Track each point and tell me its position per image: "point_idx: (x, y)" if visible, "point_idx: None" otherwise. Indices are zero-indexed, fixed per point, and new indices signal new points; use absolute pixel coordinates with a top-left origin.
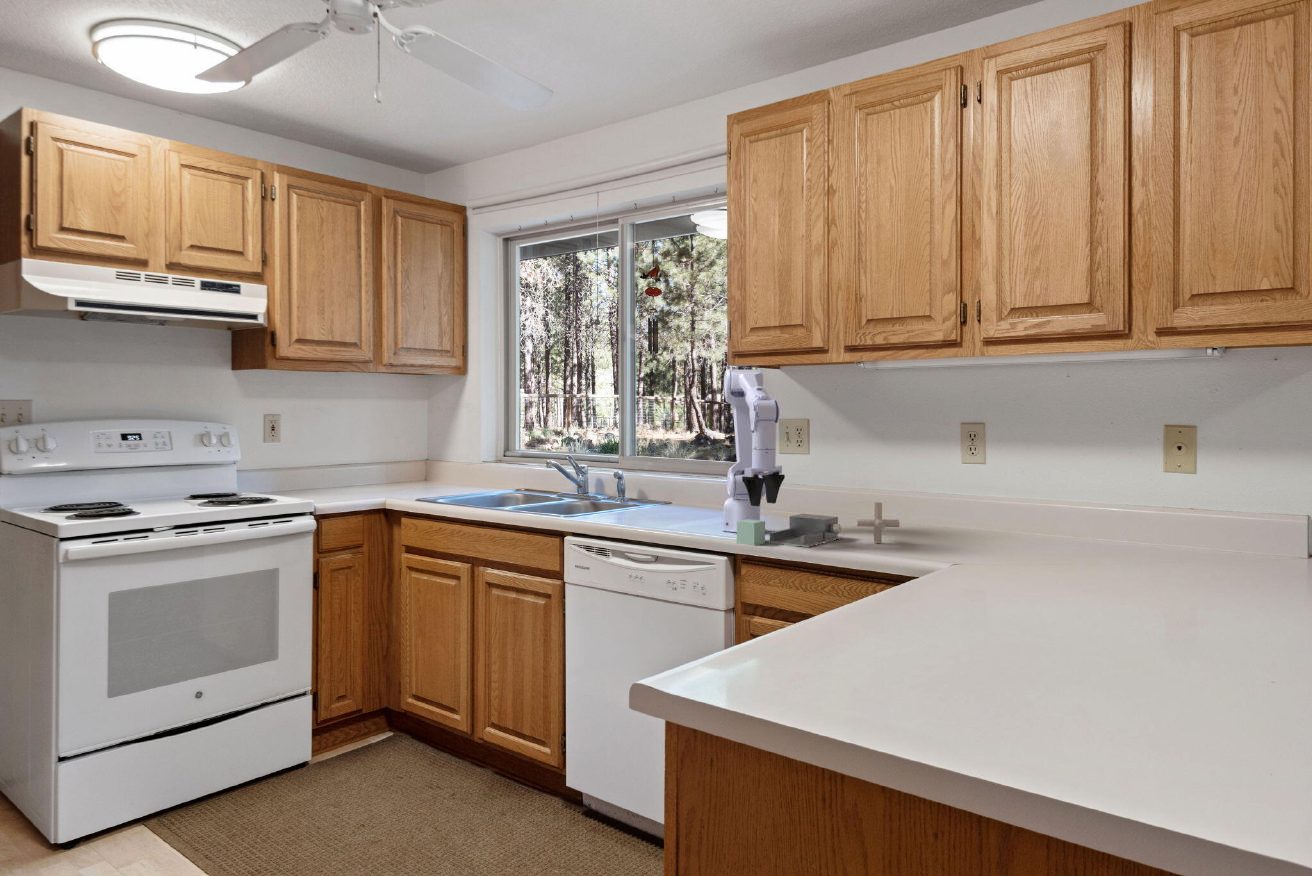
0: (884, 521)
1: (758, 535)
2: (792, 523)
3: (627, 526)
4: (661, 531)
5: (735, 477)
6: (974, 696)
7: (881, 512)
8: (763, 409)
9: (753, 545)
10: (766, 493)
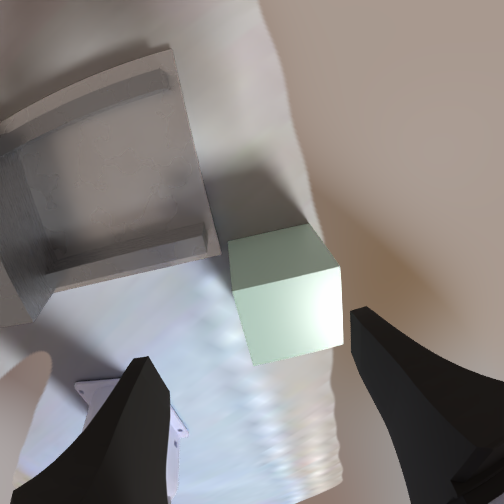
0: None
1: (284, 245)
2: (38, 292)
3: (300, 493)
4: (301, 462)
5: None
6: None
7: None
8: None
9: (310, 225)
10: (165, 446)
